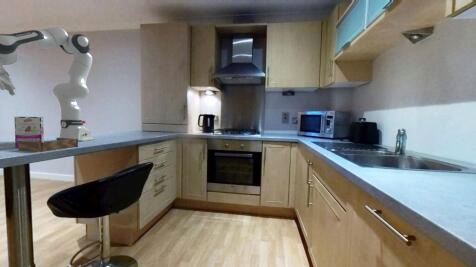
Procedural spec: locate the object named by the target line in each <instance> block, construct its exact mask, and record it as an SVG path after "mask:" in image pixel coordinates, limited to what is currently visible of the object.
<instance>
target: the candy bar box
mask: <svg viewBox="0 0 476 267" xmlns="http://www.w3.org/2000/svg"><path fill="white" fill-rule="evenodd" d="M44 131H45V130H44V117H43V116H14V140H15V142H14V143H15V148H19V145H18V141H32V142H45V135H44V134H45V132H44Z"/></svg>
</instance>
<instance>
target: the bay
mask: <svg viewBox="0 0 476 267" xmlns="http://www.w3.org/2000/svg"><path fill="white" fill-rule="evenodd" d="M55 139H56V140H50V141H49V140H48V141H44V142H32V141H18V145H19V147H18V151H25V150H28V152H38V151H39V152H48V151H56V150H64V149H72V148H78V147H79V141H78V139H72V138H59V137H56V138H55Z"/></svg>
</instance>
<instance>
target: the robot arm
mask: <svg viewBox="0 0 476 267" xmlns="http://www.w3.org/2000/svg"><path fill="white" fill-rule="evenodd" d="M32 43H33V44H35V45H36V47H38V48H39V49H42V50H50V49H55V48H57V47H58V46H59V47H60V48H61V49H62V51H63V52H65V53H66V54H69V55H73V60H72V61H71V62H72V63H71V64H70V67H69V68H68V72H67V73H68V76H69V81H68V83H67V82H61V83H58V84H56V85H54V87H53V89H52V90H53V91H52V93H53V95H54V96H55V97H56V98H57V100H58V103H59V105H60V106H59V107H60V114H61V115H60V116H61V117H60V118H61V119H60V122H59V123H60V132H59V137H58V138H72V139H78V142H86V141H91V140H92V141H93V140H96V137H93V136H92V133H91V132H92V131H91V130H89V128H87V127H86V126H84V124H86V123H87V121H86V120H82V108H81V107H80V106H79V105H78V102H77V101H78V100H83V99H86V98H87V97H89V95H90V90H89V87H88V86H87V79H88V76H89V75H90V71H91V68H92V65H93V55H91V54H90V53H89V52H90V51H91V50H90V46H91V44H90V43H91V42H90V40H89V39H88V37H87V36H86V35H84V34H81V33H75V34H73V35H69V34H68V33H67V31H66V30H65V29H64V28H62V27H60V26H53V27H52V26H51V27H47V28H44V29H40V30H36V29H33V30H26V31H20V32H14V33H6V34H5V33H1V34H0V90H1V91H5V90H6V91H8V94H9V95H10V96H15V95H16V93H15V91H14V90H16V85H15V84H14V82H13V81H12V79H11V78H10V74H9V72H8V71H7V70H6V69H5V67H4V66H7V65H12V64H15V63H16V62H17V59H18V58H17V57H18V55H17V54H18V52H17V50H18V48H20V46H24V45H28V44H32ZM3 65H4V66H3Z"/></svg>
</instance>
